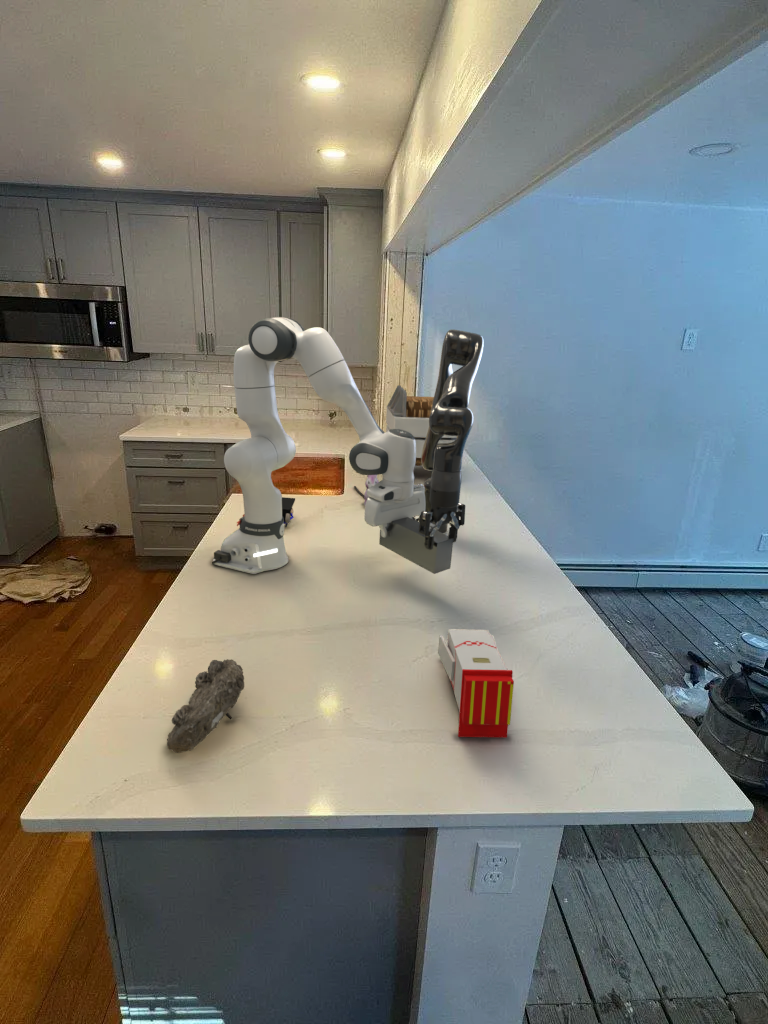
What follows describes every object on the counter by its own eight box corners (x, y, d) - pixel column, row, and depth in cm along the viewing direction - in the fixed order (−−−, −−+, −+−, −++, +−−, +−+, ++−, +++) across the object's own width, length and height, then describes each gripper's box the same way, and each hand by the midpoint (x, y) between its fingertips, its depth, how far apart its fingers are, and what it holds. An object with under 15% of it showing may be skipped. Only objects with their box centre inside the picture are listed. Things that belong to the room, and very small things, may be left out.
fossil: (192, 660, 117) (244, 628, 112) (224, 691, 120) (276, 661, 115) (142, 746, 98) (202, 712, 93) (182, 779, 101) (242, 748, 96)
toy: (488, 613, 130) (523, 677, 101) (484, 667, 133) (517, 744, 104) (435, 612, 130) (455, 676, 101) (432, 666, 133) (451, 743, 103)
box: (450, 568, 152) (453, 538, 149) (434, 574, 148) (437, 543, 145) (394, 539, 168) (396, 511, 165) (379, 544, 164) (380, 515, 161)
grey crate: (382, 463, 289) (386, 382, 275) (445, 464, 293) (451, 384, 279) (390, 482, 257) (394, 392, 243) (460, 483, 261) (468, 394, 247)
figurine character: (291, 533, 199) (296, 514, 213) (290, 514, 196) (295, 495, 209) (271, 532, 199) (278, 513, 213) (270, 513, 196) (277, 495, 209)
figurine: (368, 510, 221) (370, 473, 216) (357, 502, 229) (358, 466, 224) (390, 507, 225) (391, 471, 220) (378, 500, 233) (379, 464, 228)
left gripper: (417, 479, 166) (413, 523, 171) (362, 490, 154) (360, 537, 159) (432, 485, 162) (428, 530, 167) (376, 497, 149) (374, 545, 154)
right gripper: (454, 478, 150) (449, 534, 155) (414, 486, 141) (410, 546, 147) (475, 485, 144) (469, 543, 150) (435, 494, 136) (430, 556, 141)
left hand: (394, 533), depth 163 cm, fingers closed on box, 6 cm apart
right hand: (440, 545), depth 148 cm, fingers open, 8 cm apart
